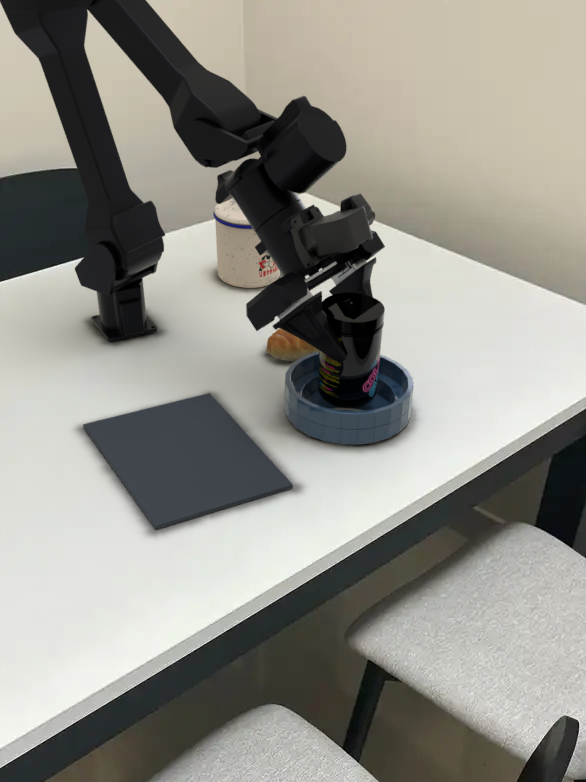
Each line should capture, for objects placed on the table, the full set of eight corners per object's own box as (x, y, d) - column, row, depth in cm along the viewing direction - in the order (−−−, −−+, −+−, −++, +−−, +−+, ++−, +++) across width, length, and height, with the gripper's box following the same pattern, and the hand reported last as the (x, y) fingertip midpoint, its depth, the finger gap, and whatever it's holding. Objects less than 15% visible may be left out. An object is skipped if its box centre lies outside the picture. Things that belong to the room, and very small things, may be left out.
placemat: (83, 428, 104) (82, 424, 104) (209, 396, 110) (209, 392, 110) (155, 529, 92) (155, 525, 92) (292, 488, 98) (292, 484, 98)
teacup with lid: (271, 293, 130) (271, 206, 122) (207, 284, 131) (202, 196, 123) (294, 258, 139) (295, 174, 131) (233, 250, 140) (231, 166, 132)
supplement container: (359, 417, 104) (366, 328, 97) (305, 398, 107) (308, 310, 99) (387, 390, 109) (395, 303, 102) (335, 373, 111) (340, 286, 104)
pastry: (286, 371, 115) (286, 342, 112) (254, 349, 119) (253, 320, 116) (347, 350, 120) (348, 322, 117) (314, 329, 123) (315, 301, 121)
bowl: (263, 397, 111) (262, 364, 108) (367, 370, 116) (370, 338, 113) (324, 460, 102) (325, 426, 99) (433, 428, 108) (438, 395, 105)
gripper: (270, 200, 87) (364, 349, 91) (376, 149, 99) (455, 282, 103) (205, 261, 96) (294, 395, 99) (311, 207, 107) (386, 328, 111)
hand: (361, 348), depth 103 cm, fingers closed on supplement container, 7 cm apart
